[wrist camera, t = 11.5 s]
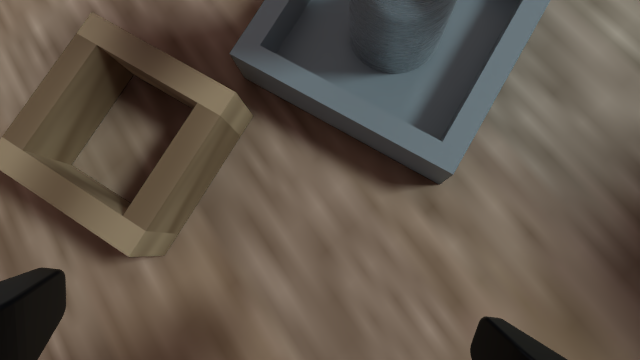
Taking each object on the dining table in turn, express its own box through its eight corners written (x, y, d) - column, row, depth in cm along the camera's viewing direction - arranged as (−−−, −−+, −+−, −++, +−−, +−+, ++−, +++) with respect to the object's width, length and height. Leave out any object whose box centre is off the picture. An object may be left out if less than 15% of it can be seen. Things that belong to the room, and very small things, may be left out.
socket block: (253, 116, 19) (235, 92, 16) (164, 255, 19) (128, 256, 16) (129, 45, 21) (91, 11, 18) (39, 173, 20) (-15, 160, 17)
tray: (545, -5, 19) (573, -41, 17) (439, 184, 18) (453, 174, 16) (353, -90, 21) (353, -135, 19) (244, 77, 20) (229, 53, 17)
